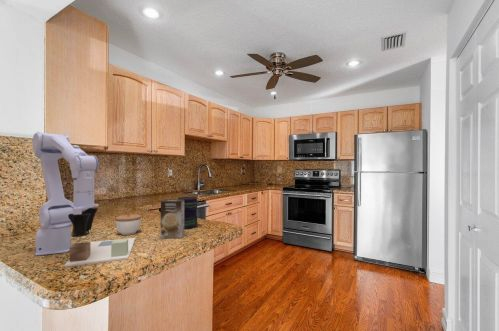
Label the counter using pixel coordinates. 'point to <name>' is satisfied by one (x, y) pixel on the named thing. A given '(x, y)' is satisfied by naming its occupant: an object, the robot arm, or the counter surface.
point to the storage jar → (190, 212)
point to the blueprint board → (102, 253)
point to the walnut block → (79, 251)
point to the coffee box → (172, 218)
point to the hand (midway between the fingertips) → (83, 232)
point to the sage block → (119, 247)
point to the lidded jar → (128, 223)
